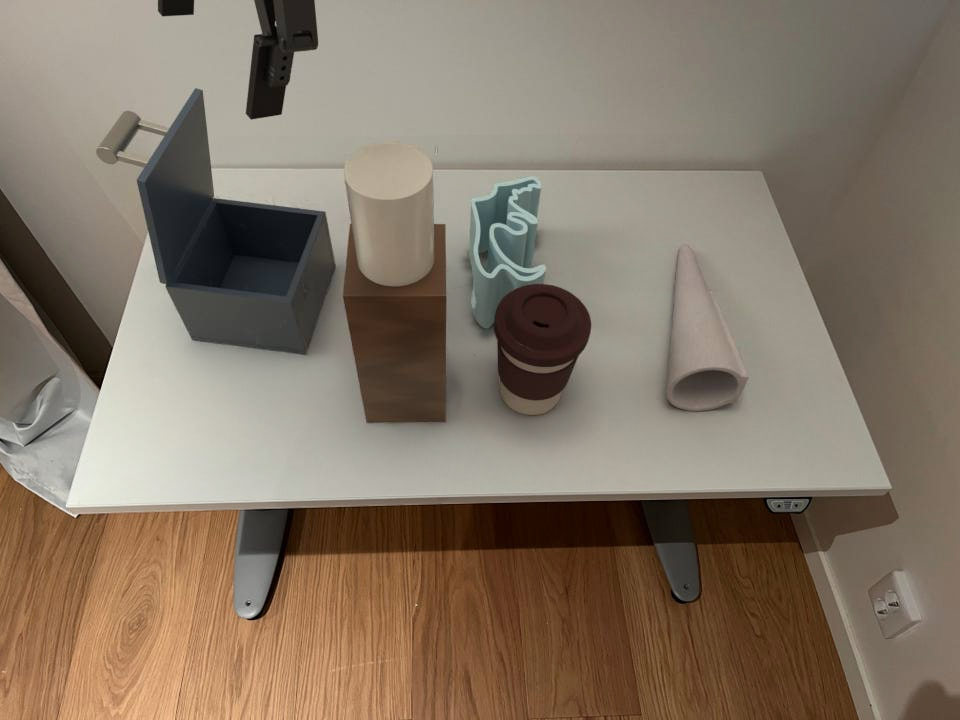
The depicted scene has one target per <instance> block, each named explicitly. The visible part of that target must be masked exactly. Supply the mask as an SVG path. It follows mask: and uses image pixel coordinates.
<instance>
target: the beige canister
mask: <svg viewBox="0 0 960 720" xmlns="http://www.w3.org/2000/svg"><path fill="white" fill-rule="evenodd" d="M433 166H434V165H433V164H432V161H431V159H430V158H429V157H428V155H427V154H426V153H425V152H424V151H422V150H421V149H420V148H417V147H416V146H414V145H410V144H408V143H403V142H398V141H382V142H376V143H371V144H368V145H366V146H363V147H361V148H360V149H358V150H356V151H355V152H354V153H351V155H350V156H349V157H348V159H347V160H346V162H345V165H344V167H343V177H344V185H345V191H346V198H347V203H348V211H349V215H350V224H352V231H353V237H354V244H355V250H356V257H357V263H358V267H359V269H360V271H361V272H362V273H363V274H364V275H365V277H367V278H368V279H369V280H371V281H373V282H375V283H377V284H380V285H384V286H391V287H398V286H405V285H409V284H413V283H415V282H417V281H419V280H421V279H422V278H423V277H425V276H426V275H427V274H428V273H429V271H430V270H431V268H432V267H433V264H434V260H435V251H434V224H435V207H434V205H435V204H434V203H435V201H434V167H433Z"/></svg>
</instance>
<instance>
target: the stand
mask: <svg viewBox="0 0 960 720" xmlns="http://www.w3.org/2000/svg"><path fill="white" fill-rule="evenodd" d="M446 229H447V228H446V224H445V223H434V251H435V260H434V264H433V267H432V268H431V270H430V271H429V273H428V274H427V275H426V276H425V277H423V278H422V279H421V280H419V281H417V282H415V283H413V284H409V285H405V286H398V287H391V286H384V285H380V284H377V283H375V282H373V281H371V280H369V279H368V278H367V277H365V275H364V274H363V273H362V272H361V271H360V269H359V267H358V263H357V257H356V250H355V244H354V237H353V231H352V224H351V223H349V231H348V240H347V250H346V259H345V267H344V268H345V270H344V276H343V289H342V301H343V306H344V310H345V311H344V312H345V316H346V322H347V326H348V333H349V338H350V343H351V348H352V354H353V359H354V364H355V369H356V374H357V380H358V386H359V391H360V395H361V402H362V406H363V412H364V418H365V423H366V424H404V423H415V424H416V423H447V242H446V241H447V239H446V237H447V236H446V235H447V234H446V232H447V231H446Z"/></svg>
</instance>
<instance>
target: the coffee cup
mask: <svg viewBox="0 0 960 720" xmlns="http://www.w3.org/2000/svg"><path fill="white" fill-rule="evenodd" d="M493 331H494V335H495V339H496V341H497V342H496V345H497V346H496V347H497V350H496V351H497V353H496V355H497V359H496V360H497V374H498V378H499V393H500V396H501V398H502V400H503V402H504V403H505V404H506V405H507V406H508V407H509V408H510V409H511V410H513V411H515V412H516V413H519V414H522V415H526V416H527V415H528V416H538V415H542V414H545V413H548V412H549V411H551V410H552V409H554V407H556V405H557V404H558V402H559V401H560V399H561V396H562V393H563V392H564V389H565V388H566V386H567V385H568V383H569V381H570V378H571V376H572V373H573V371H574V369H575V366H576V364H577V361H578V359H579V356H580V355H581V354H582V353H583V351H584V350H585V348H586V346H587V345H588V343H589V340H590V336H591V332H592V320H591V315H590V312H589V311H588V308H587V307H586V305H585V304H584V303H583V302H582V300H581V299H580V298H578V297H577V296H576V295H574V294H573V293H572V292H570V291H569V290H567V289H564V288H562V287H559V286H557V285H553V284H547V283H543V284H531V285H526V286H522V287H519V288H517V289H514V290H513V291H511V292H509V293H508V294H507V295H506V296H505V297H504V298H503V299H502V300H501V301H500V303H499V304H498V306H497V309H496V312H495V318H494V323H493Z"/></svg>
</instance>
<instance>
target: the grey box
mask: <svg viewBox="0 0 960 720" xmlns="http://www.w3.org/2000/svg"><path fill="white" fill-rule="evenodd" d="M336 268H337V265H336V259H335V254H334V249H333V244H332V238H331V234H330V229H329V223H328V217H327V212H326V211H324V210H316V209H307V208H299V207H293V206H292V207H291V206H285V205H284V206H283V205H275V204H266V203H259V202H250V201H240V200H234V199H225V198H219V197H218V198H216V197H213V199H212V201H211V203H210V204H209V206H208V208H207V210H206V212H205V214H204V216H203V218H202V220H201V221H200V223H199V225H198V227H197V229H196V231H195V233H194V235H193V237H192V238H191V240H190V242H189V244H188V246H187V248H186V250H185V252H184V254H183V255H182V257H181V259H180V261H179V263H178V265H177V267H176V269H175V271H174V272H173V274H172V276H171V278H170V280H169V282H168V284H165V286H164V288H165V290H166V292H167V293H168V295H169V297H170V299H171V301H172V303H173V304H174V307H175V309H176V311H177V313H178V316H179V317H180V319H181V321H182V323H183V325H184V327H185V329H186V331H187V333H188V335H189V337H190V339H191V340H192V341H198V342H202V343H203V342H204V343H212V344H219V345H225V346H233V347H240V348H249V349H250V348H251V349H258V350H266V351H272V352H280V353H288V354H296V355H303V356H306V355H307V353H308V350H309V347H310V344H311V341H312V338H313V335H314V333H315V329H316V326H317V323H318V321H319V318H320V315H321V312H322V309H323V306H324V304H325V300H326V298H327V295H328V292H329V289H330V286H331V283H332V281H333V277H334V274H335V271H336Z"/></svg>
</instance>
